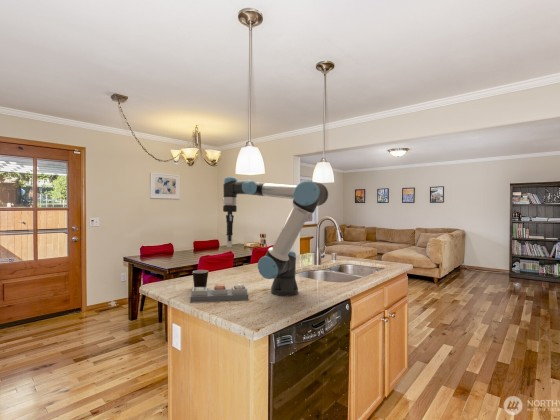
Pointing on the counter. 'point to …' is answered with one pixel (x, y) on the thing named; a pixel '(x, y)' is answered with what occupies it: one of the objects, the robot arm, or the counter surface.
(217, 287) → the button terracotta
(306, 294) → the counter surface
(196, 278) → the coffee mug
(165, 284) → the counter surface
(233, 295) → the button panel
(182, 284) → the counter surface
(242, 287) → the button cream
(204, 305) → the counter surface
